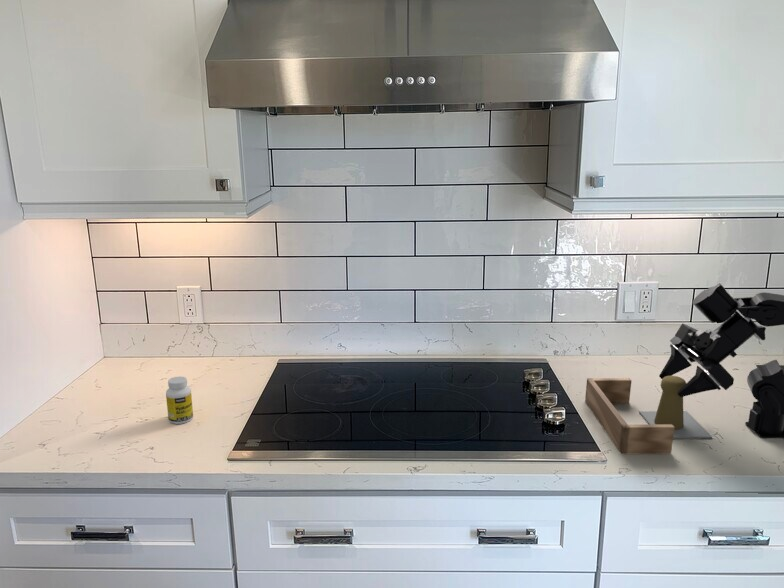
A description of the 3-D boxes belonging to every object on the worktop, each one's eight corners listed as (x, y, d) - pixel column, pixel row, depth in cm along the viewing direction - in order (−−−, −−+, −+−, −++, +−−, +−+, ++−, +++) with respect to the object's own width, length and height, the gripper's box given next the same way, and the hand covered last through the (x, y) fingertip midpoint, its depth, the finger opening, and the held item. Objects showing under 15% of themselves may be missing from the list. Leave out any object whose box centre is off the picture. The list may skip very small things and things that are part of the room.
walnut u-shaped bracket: (627, 401, 151) (629, 378, 149) (671, 453, 127) (674, 427, 126) (585, 401, 151) (587, 378, 149) (621, 454, 127) (623, 427, 126)
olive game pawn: (666, 431, 135) (672, 385, 132) (648, 419, 141) (653, 374, 138) (689, 428, 137) (696, 381, 134) (671, 415, 143) (677, 371, 140)
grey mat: (686, 412, 145) (686, 411, 145) (712, 438, 133) (712, 436, 133) (639, 412, 145) (639, 411, 145) (660, 438, 133) (660, 437, 133)
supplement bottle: (176, 427, 139) (171, 386, 136) (164, 419, 143) (159, 380, 140) (198, 418, 143) (194, 379, 140) (185, 411, 146) (181, 372, 144)
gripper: (683, 300, 141) (629, 346, 144) (726, 327, 123) (664, 379, 126) (713, 333, 143) (660, 378, 146) (760, 364, 125) (698, 415, 128)
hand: (669, 386), depth 137 cm, fingers open, 9 cm apart
